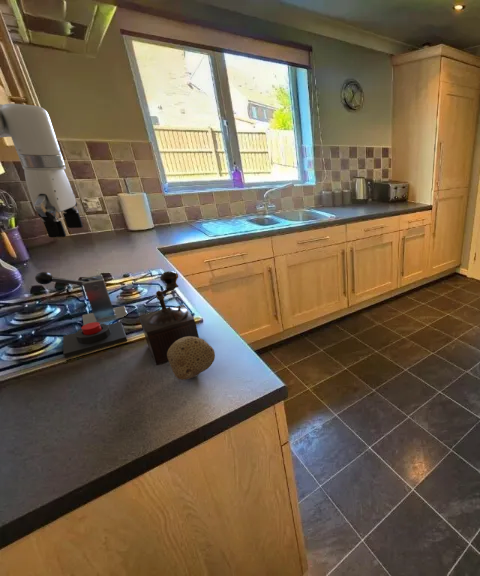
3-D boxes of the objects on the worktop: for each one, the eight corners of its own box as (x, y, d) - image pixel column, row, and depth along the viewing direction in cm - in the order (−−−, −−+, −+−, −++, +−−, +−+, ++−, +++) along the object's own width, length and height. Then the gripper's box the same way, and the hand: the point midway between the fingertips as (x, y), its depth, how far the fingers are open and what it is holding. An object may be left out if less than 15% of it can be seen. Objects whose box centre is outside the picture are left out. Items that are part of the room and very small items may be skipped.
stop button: (84, 337, 81) (81, 330, 81) (83, 330, 84) (80, 325, 83) (102, 332, 84) (100, 326, 83) (101, 326, 86) (99, 320, 85)
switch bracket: (85, 330, 91) (68, 288, 85) (83, 318, 96) (68, 278, 91) (129, 319, 97) (116, 279, 92) (125, 308, 102) (113, 270, 97)
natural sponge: (217, 359, 81) (210, 325, 77) (218, 381, 74) (211, 344, 70) (174, 368, 78) (165, 332, 73) (172, 392, 70) (161, 354, 66)
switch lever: (33, 284, 83) (36, 273, 82) (34, 280, 85) (37, 269, 84) (100, 292, 92) (103, 282, 92) (99, 289, 94) (102, 278, 94)
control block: (66, 361, 78) (60, 347, 77) (66, 343, 85) (60, 329, 83) (128, 344, 86) (124, 330, 84) (123, 328, 92) (119, 315, 91)
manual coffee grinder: (205, 349, 85) (192, 286, 78) (155, 366, 78) (135, 298, 71) (188, 325, 95) (175, 267, 88) (143, 338, 88) (124, 276, 81)
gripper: (42, 159, 85) (65, 224, 92) (-1, 164, 70) (29, 241, 77) (78, 160, 88) (97, 224, 95) (44, 166, 73) (69, 240, 80)
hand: (67, 232), depth 86 cm, fingers open, 9 cm apart
